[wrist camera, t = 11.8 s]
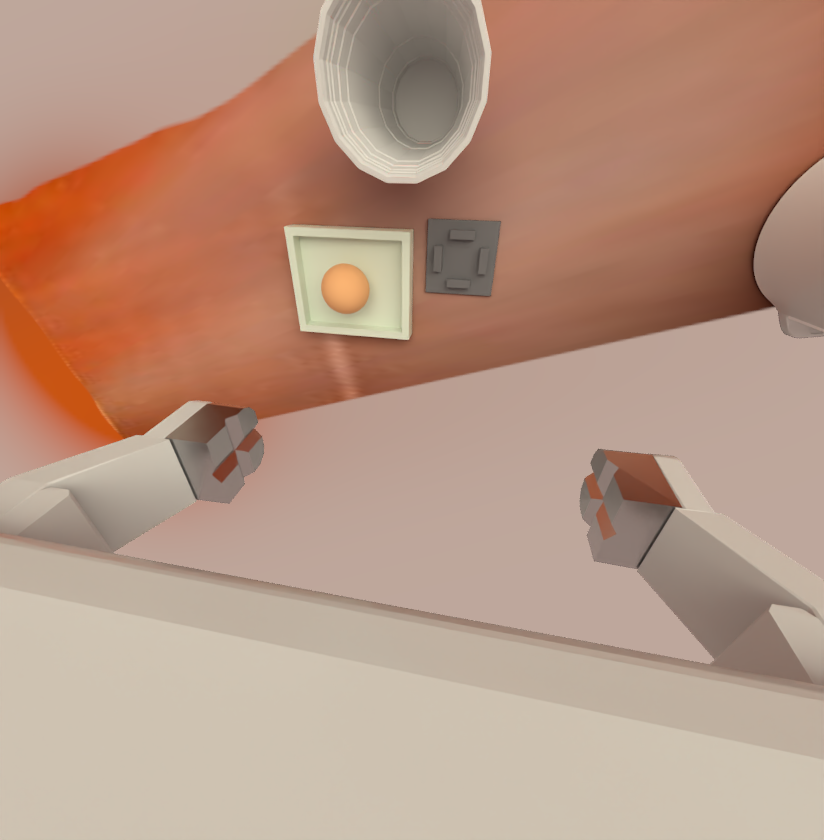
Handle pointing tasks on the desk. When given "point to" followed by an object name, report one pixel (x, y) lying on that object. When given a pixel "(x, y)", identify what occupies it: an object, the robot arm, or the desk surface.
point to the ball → (345, 288)
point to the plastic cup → (402, 82)
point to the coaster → (461, 256)
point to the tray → (375, 256)
